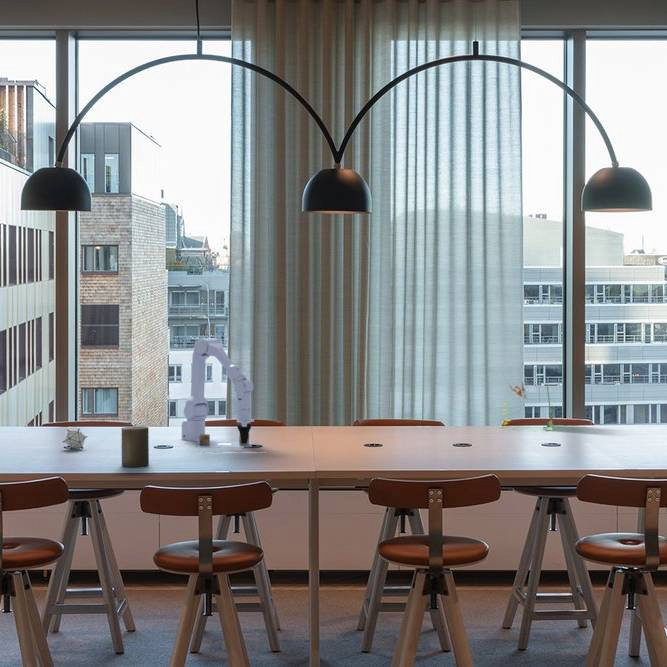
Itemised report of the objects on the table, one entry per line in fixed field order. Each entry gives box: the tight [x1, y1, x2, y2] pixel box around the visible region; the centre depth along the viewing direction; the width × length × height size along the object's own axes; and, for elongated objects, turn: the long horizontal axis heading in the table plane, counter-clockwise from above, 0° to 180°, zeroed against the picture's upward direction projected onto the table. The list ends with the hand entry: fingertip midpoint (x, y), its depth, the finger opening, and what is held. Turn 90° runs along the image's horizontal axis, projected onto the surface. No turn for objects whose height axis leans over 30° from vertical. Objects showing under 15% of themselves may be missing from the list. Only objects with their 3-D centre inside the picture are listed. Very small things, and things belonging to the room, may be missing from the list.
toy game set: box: [498, 381, 554, 430], centre depth 494 cm, size 22×25×24 cm
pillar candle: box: [121, 425, 150, 468], centre depth 383 cm, size 10×10×15 cm
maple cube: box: [238, 433, 250, 445], centre depth 433 cm, size 4×4×4 cm
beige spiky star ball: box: [62, 428, 89, 451], centre depth 423 cm, size 9×8×10 cm
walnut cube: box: [199, 433, 211, 446], centre depth 432 cm, size 4×4×4 cm
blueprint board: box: [196, 441, 253, 449], centre depth 433 cm, size 22×15×1 cm
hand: (244, 442), depth 433 cm, fingers closed on maple cube, 4 cm apart
